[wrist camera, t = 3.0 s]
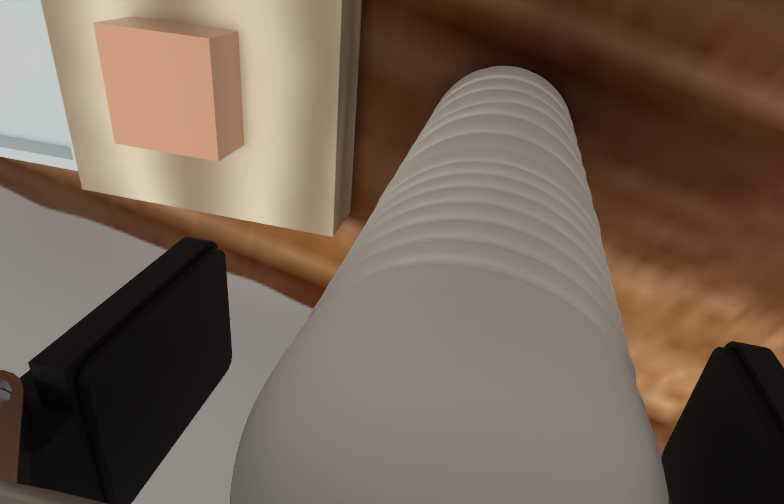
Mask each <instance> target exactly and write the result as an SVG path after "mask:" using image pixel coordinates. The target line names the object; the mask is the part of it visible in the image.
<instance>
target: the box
mask: <svg viewBox="0 0 784 504" xmlns="http://www.w3.org/2000/svg"><path fill="white" fill-rule="evenodd" d="M0 157H6V158H11V159H16V160H22V161H27V162H33V163H38V164H43V165H49V166H54V167H60V168H65V169H70V170H76V171H78V167H77V163H76V158H75V154H74V149H73V145H72V140H71V135H70V131H69V126H68V122H67V117H66V113H65V108H64V104H63V99H62V95H61V90H60V86H59V81H58V77H57V72H56V68H55V63H54V58H53V54H52V49H51V45H50V40H49V36H48V31H47V27H46V22H45V18H44V13H43V9H42V4H41V0H0Z"/></svg>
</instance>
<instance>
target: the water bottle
mask: <svg viewBox="0 0 784 504" xmlns="http://www.w3.org/2000/svg"><path fill="white" fill-rule="evenodd" d="M230 504H668V491H667V484H666V479H665V474H664V470H663V465H662V461H661V457H660V453H659V450H658V446H657V442H656V439H655V436H654V433H653V431H652V428H651V425H650V422H649V419H648V416H647V412H646V409H645V406H644V403H643V400H642V397H641V395H640V393H639V391H638V388H637V386H636V373H635V368H634V364H633V362H632V360H631V357H630V355H629V352H628V340H627V337H626V334H625V332H624V330H623V327H622V321H621V313H620V310H619V308H618V306H617V303H616V294H615V290H614V288H613V285H612V283H611V275H610V270H609V268H608V266H607V263H606V255H605V252H604V250H603V247H602V239H601V233H600V226H599V221H598V218H597V215H596V213H595V210H594V208H593V205H592V196H591V192H590V189H589V186H588V184H587V181H586V172H585V170H584V167H583V164H582V158H581V153H580V151H579V148H578V146H577V138H576V135H575V133H574V126H573V123H572V120H571V117H570V113H569V110H568V108H567V106H566V104H565V102H564V100H563V98H562V97H561V95H560V94H559V92H558V91H557V90H556V89H555V88H554V87H553V86H552V85H551V84H550V83H549V82H548V81H547V80H545V79H544V78H543V77H541V76H539V75H538V74H535V73H532V72H531V71H529V70H526V69H523V68H519V67H513V66H493V67H489V68H485V69H480V70H477V71H475V72H473V73H471V74H469V75H467V76H465V77H463V78H462V79H460V80H459V81H458V82H456V83H455V84H454V85H453V86H452V87H451V88H450V89H449V90H448V91H447V92H446V93H445V95H444V96H443V97H442V99H441V100H440V102H439V103H438V105H437V106H436V108H435V110H434V112H433V114H432V115H431V117H430V118H429V120H428V122H427V124H426V125H425V127H424V128H423V130H422V131H421V133H420V135H419V136H418V138H417V140H416V142H415V143H414V144H413V146H412V147H411V149H410V151H409V153H408V155H407V156H406V158H405V159H404V161H403V162H402V164H401V165H400V167H399V169H398V170H397V172H396V174H395V176H394V178H393V179H392V180H391V182H390V183H389V185H388V186H387V188H386V189H385V191H384V193H383V194H382V196H381V198H380V200H379V202H378V204H377V206H376V208H375V210H374V212H373V213H372V215H371V216H370V218H369V219H368V221H367V223H366V225H365V226H364V228H363V229H362V231H361V232H360V234H359V236H358V238H357V240H356V241H355V242H354V244H353V245H352V247H351V249H350V250H349V252H348V254H347V256H346V257H345V259H344V260H343V262H342V263H341V265H340V267H339V268H338V270H337V272H336V274H335V276H334V277H333V278H332V280H331V281H330V283H329V285H328V286H327V288H326V290H325V292H324V294H323V296H322V297H321V298H320V300H319V301H318V303H317V304H316V306H315V307H314V309H313V311H312V313H311V314H310V316H309V318H308V321H307V322H306V324H305V325H304V326H303V328H302V329H301V331H300V332H299V334H298V335H297V336H296V338H295V339H294V341H293V342H292V344H291V345H290V346H289V348H288V349H287V350H286V352H285V353H284V354H283V356H282V357H281V359H280V360H279V362H278V364H277V365H276V367H275V368H274V370H273V371H272V373H271V375H270V377H269V378H268V380H267V381H266V383H265V385H264V387H263V388H262V390H261V392H260V394H259V396H258V398H257V400H256V402H255V404H254V406H253V408H252V410H251V412H250V415H249V417H248V419H247V422H246V425H245V428H244V431H243V434H242V437H241V440H240V444H239V447H238V451H237V455H236V460H235V465H234V470H233V477H232V483H231V492H230Z"/></svg>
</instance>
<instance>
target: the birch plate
mask: <svg viewBox="0 0 784 504" xmlns="http://www.w3.org/2000/svg"><path fill="white" fill-rule="evenodd" d="M41 4H42V9H43V13H44V18H45V22H46V27H47V31H48V36H49V40H50V45H51V49H52V54H53V58H54V63H55V68H56V72H57V77H58V81H59V86H60V90H61V95H62V99H63V104H64V108H65V113H66V117H67V122H68V126H69V131H70V135H71V140H72V145H73V149H74V154H75V158H76V163H77V167H78V172H79V176H80V181H81V185H82V189H84V190H90V191H95V192H100V193H105V194H111V195H116V196H121V197H126V198H132V199H137V200H142V201H147V202H152V203H158V204H163V205H168V206H173V207H179V208H184V209H189V210H194V211H200V212H205V213H210V214H215V215H221V216H226V217H231V218H236V219H242V220H247V221H252V222H257V223H262V224H268V225H273V226H278V227H283V228H289V229H294V230H299V231H304V232H310V233H315V234H320V235H325V236H331V237H333V236H334V235H335V233H336V232H337V230H338V229H339V228H340V226H341V225H342V223H343V222H344V220H345V219H346V218H347V216H348V215H349V213H350V210H351V192H352V174H353V155H354V137H355V119H356V101H357V83H358V65H359V47H360V29H361V11H362V0H41ZM126 17H138V18H146V19H153V20H161V21H168V22H175V23H183V24H190V25H198V26H205V27H213V28H220V29H227V30H235V31H238V36H239V55H240V74H241V93H242V112H243V131H244V145H243V146H242V147H240V148H239V149H237V150H236V151H234V152H233V153H231V154H230V155H228V156H227V157H225V158H224V159H222V160H220V161H219V162H218V161H212V160H206V159H200V158H195V157H189V156H183V155H178V154H172V153H166V152H160V151H155V150H149V149H143V148H138V147H132V146H126V145H120V144H115V141H114V136H113V130H112V125H111V119H110V113H109V108H108V102H107V97H106V91H105V86H104V80H103V74H102V69H101V63H100V58H99V52H98V46H97V41H96V35H95V30H94V24H93V22H99V21H106V20H112V19H119V18H126Z"/></svg>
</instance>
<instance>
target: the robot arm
mask: <svg viewBox="0 0 784 504" xmlns="http://www.w3.org/2000/svg"><path fill="white" fill-rule="evenodd" d="M231 359H232V347H231V331H230V317H229V304H228V289H227V274H226V259H225V254H224V252H223V251H222V250H218V246H217V244H216V243H215V242H212V241H207V240H202V239H197V238H192V237H185V238H183V239H181V240H180V241H179V242H178V243H176V244H175V245H174V246H173V247H171V248H170V249H169V250H168V251H166V252H165V253H164V254H163V255H161V256H160V257H159V258H158V259H157V260H155V261H154V262H153V263H152V264H150V265H149V266H148V267H147V268H146V269H144V270H143V271H142V272H140V273H139V274H138V275H137V276H135V277H134V278H133V279H132V280H130V281H129V282H128V283H127V284H125V285H124V286H123V287H122V288H120V289H119V290H118V291H117V292H116V293H114V294H113V295H112V296H110V297H109V298H108V299H107V300H106V301H104V302H103V303H102V304H100V305H99V306H98V307H97V308H96V309H94V310H93V311H92V312H90V313H89V314H88V315H87V316H85V317H84V318H83V319H82V320H81V321H79V322H78V323H77V324H76V325H74V326H73V327H72V328H71V329H69V330H68V331H67V332H66V333H65V334H63V335H62V336H61V337H59V338H58V339H57V340H56V341H54V342H53V343H52V344H51V345H49V346H48V347H47V348H46V349H45V350H43V351H42V352H41V353H39V354H38V355H37V356H36V357H34V358H33V359H32V360H31V361H29V363H28V364H29V367H30V370H29V371H28V372H27V373H25V374H24V375H23V376H22V377H21V378H18V377H17V376H16V375H15V374H13V373H10V372H7V371H4V370H0V504H131V503H132V502H133V501H134V499H135V498H136V496H137V495H138V494H139V492H140V491H141V489H142V488H143V487H144V485H145V484H146V482H147V481H148V480H149V478H150V477H151V476H152V474H153V473H154V472H155V470H156V469H157V467H158V466H159V465H160V463H161V462H162V461H163V459H164V458H165V456H166V455H167V454H168V452H169V451H170V449H171V448H172V446H173V445H174V444H175V442H176V441H177V439H178V438H179V437H180V435H181V434H182V433H183V431H184V430H185V429H186V427H187V426H188V425H189V423H190V422H191V420H192V419H193V418H194V416H195V415H196V413H197V412H198V411H199V409H200V408H201V406H202V405H203V404H204V403H205V401H206V400H207V398H208V397H209V395H210V394H211V393H212V391H213V390H214V389H215V387H216V386H217V385H218V383H219V382H220V381H221V379H222V378H223V376H224V375H225V373H226V372H227V370H228V369H229V366H230V363H231ZM662 465H663V470H664V474H665V479H666V484H667V489H668V492H669V496H670V499H671V502H672V504H784V368H783V366H782V365H781V363H780V362H779V360H778V359H777V357H776V356H775V354H774V353H773V352H772V351H771V350H770V349H768V348H765V347H760V346H755V345H750V344H744V343H739V342H734V341H733V342H729V343H728V344H727V345H725V347H724V348H722V347H717V348H716V349H715V350H714V351H713V352H712V354H711V356H710V358H709V360H708V362H707V364H706V366H705V368H704V370H703V372H702V374H701V376H700V378H699V380H698V382H697V384H696V386H695V388H694V390H693V392H692V394H691V396H690V398H689V400H688V402H687V404H686V406H685V408H684V410H683V412H682V414H681V416H680V418H679V420H678V422H677V424H676V426H675V428H674V430H673V432H672V435H671V437H670V439H669V441H668V443H667V445H666V447H665V449H664V451H663V455H662Z"/></svg>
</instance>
